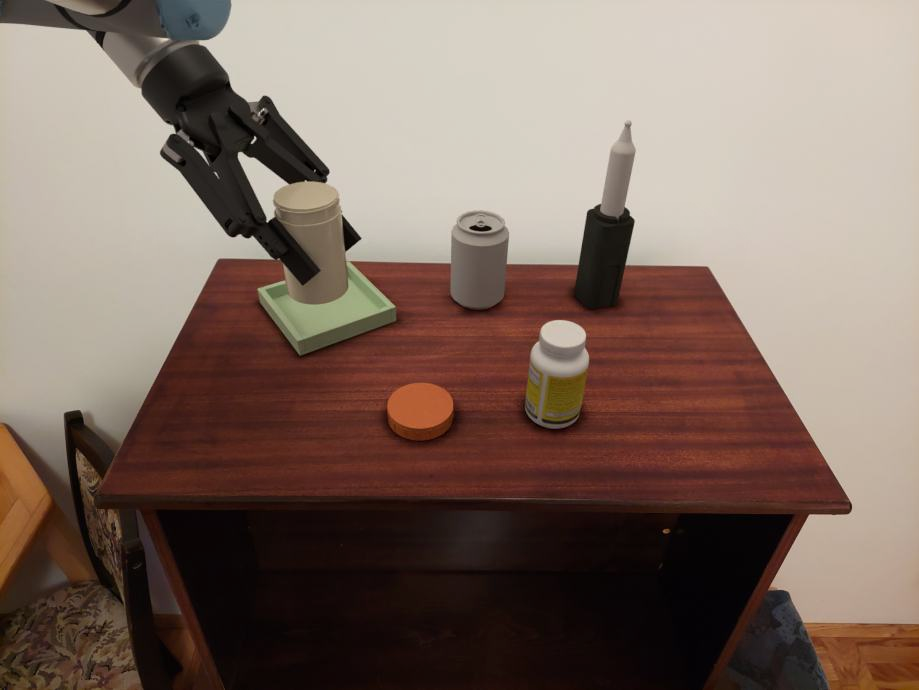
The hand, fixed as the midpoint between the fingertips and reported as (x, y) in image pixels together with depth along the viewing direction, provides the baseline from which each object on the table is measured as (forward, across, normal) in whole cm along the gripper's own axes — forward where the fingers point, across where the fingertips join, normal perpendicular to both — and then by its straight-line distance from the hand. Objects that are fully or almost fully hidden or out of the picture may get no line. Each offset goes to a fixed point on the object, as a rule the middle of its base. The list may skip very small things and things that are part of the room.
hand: (332, 261), depth 65 cm
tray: (+4, -11, -19) cm, 22 cm away
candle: (+26, -31, +3) cm, 41 cm away
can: (+16, -23, -8) cm, 29 cm away
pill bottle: (+28, -7, +4) cm, 29 cm away
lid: (+18, +1, -3) cm, 18 cm away
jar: (+1, 0, -4) cm, 5 cm away
